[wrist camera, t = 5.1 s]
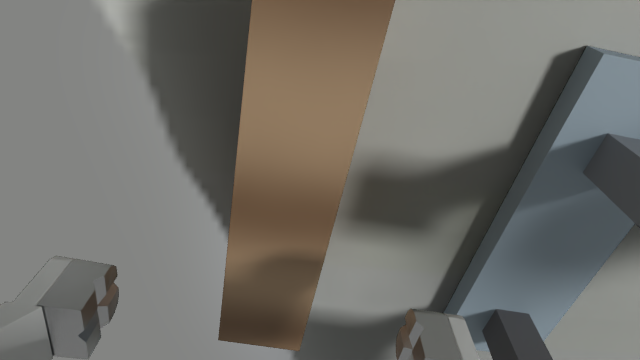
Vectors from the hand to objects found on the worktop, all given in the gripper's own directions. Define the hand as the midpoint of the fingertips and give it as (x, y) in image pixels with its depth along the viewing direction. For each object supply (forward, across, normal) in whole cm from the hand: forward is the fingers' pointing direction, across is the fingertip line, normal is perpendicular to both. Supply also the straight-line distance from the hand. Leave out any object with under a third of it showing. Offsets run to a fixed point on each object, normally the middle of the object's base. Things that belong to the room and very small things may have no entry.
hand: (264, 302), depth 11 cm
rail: (+10, 0, -1) cm, 10 cm away
